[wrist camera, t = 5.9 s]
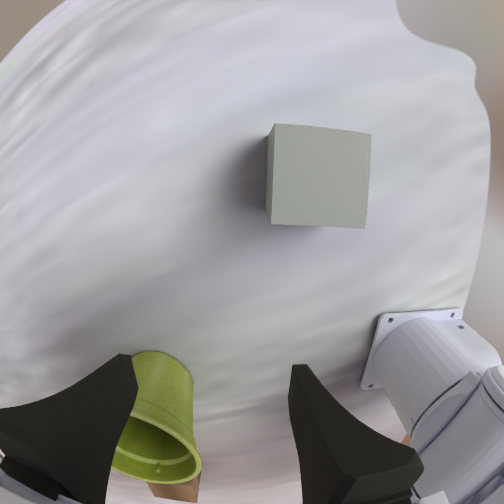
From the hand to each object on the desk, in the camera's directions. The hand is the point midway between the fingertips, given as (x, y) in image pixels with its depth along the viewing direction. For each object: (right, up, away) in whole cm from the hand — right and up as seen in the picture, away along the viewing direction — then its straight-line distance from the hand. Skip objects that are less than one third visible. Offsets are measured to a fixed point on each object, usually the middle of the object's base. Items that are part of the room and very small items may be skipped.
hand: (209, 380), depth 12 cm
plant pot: (-6, -5, +11) cm, 14 cm away
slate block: (+5, +11, +7) cm, 14 cm away
